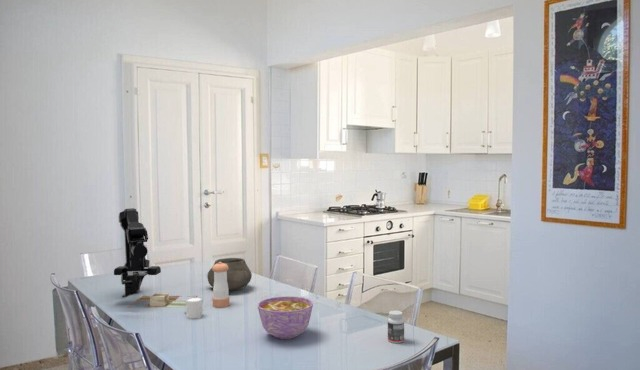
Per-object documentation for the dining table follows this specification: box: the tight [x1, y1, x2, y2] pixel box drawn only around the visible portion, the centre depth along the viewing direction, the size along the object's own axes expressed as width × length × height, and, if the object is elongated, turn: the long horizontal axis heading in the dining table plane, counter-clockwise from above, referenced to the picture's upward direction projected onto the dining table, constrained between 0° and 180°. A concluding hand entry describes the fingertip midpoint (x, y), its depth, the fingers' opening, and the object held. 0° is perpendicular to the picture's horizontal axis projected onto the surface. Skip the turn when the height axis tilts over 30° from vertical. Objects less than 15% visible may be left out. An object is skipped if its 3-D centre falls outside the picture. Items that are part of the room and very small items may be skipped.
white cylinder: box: [185, 297, 204, 320], centre depth 209 cm, size 7×7×7 cm
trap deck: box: [127, 295, 198, 308], centre depth 227 cm, size 18×26×2 cm
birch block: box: [149, 292, 170, 306], centre depth 222 cm, size 6×6×4 cm
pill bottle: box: [387, 310, 405, 344], centre depth 178 cm, size 6×6×10 cm
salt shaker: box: [211, 262, 231, 308], centre depth 224 cm, size 7×7×19 cm
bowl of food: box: [257, 295, 314, 340], centre depth 185 cm, size 20×20×12 cm
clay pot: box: [206, 257, 253, 292], centre depth 250 cm, size 22×21×15 cm
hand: (138, 290), depth 223 cm, fingers closed
